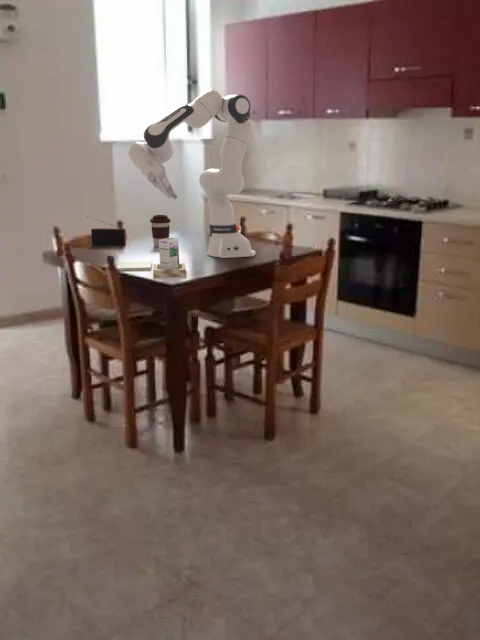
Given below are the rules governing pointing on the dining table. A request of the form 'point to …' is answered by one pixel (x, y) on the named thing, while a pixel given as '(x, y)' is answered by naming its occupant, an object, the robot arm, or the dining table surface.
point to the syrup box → (169, 253)
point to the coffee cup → (160, 228)
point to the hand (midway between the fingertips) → (172, 192)
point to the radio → (108, 236)
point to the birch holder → (169, 271)
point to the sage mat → (135, 265)
